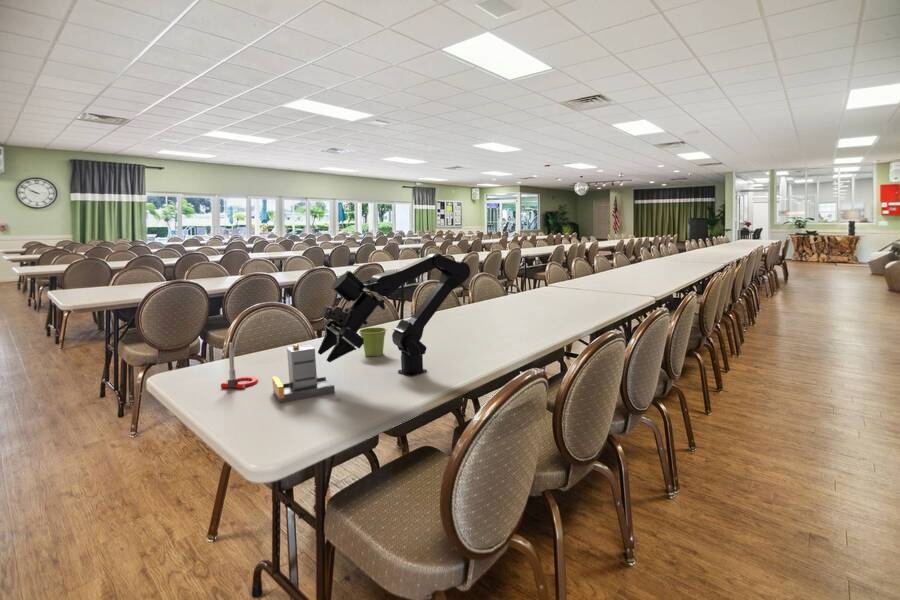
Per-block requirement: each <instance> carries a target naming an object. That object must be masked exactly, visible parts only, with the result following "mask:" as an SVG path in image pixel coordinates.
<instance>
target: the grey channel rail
mask: <svg viewBox="0 0 900 600" xmlns="http://www.w3.org/2000/svg"><path fill="white" fill-rule="evenodd" d="M271 379H272V392H273V394H274V396H275V397H276V399H277V401H278V403H279V404H283V403H287V402H293V401H298V400H303V399H309V398H313V397H319V396H324V395H329V394H335V392H336V391H335V390H336V388H335V384H330V382H329V381H328V380H327V376H325V375H324V376H319V377H318V376H317V388H312V389H306V390H301V391H296V392H293V391H292V390H291V388H290V382H289V381H288V382H284V383H282V382H281V381H280V379H279V377H278V376H273V377H272V376H271Z"/></svg>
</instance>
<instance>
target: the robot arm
mask: <svg viewBox="0 0 900 600" xmlns="http://www.w3.org/2000/svg"><path fill="white" fill-rule="evenodd" d="M434 269H436V270H438V271H439V272H441V273H440V277H439V281H438V283H437V284H436V286H435V287H434V288H433V289H432V290H431V292H430V293H429V294H428V296H427V297H426V298H425V299H424V301H423V302H422V303H421V305H420V306H419V307H418V309H417V310H416V311H415V312H414V314H413V315H412V316H411V317H410V318H409V319H407V320H405V319H403V318H401V319H400V321H398V322H399V323H398V324H397V325H396V326H395V327H394V328H393V332H392V335H391V338H392V342H393V344H394V345H396V346H397V348H398V351H400V353H401V354H400V355H401V356H400V360H401V361H400V363H401V367H400V368H401V369H399V370H397V373H399V374H403V375H405V376H408V377H414V376H417V375H421V374H424V373H427V372H428V369H425V368H424V360H423V355H425V354H426V351H427V346H426V345H425V344H423V343H422V342H421V339H422V337H423V334H424V330H425V326H427V324H428V323H429V322H430V320H431V319H432V318H433V316H434V315H435V313H436V312H437V311H438V310H439V308H441V305H442V304H443V303H444V302H445V301H446V299H447V298H448V297H449V295H450V294H451V293H452V291H454V290H455V289H457V288H459V287H460V286H462V285H463V283H465V282H466V281H467V280H468V279H469V278H470V276H471V268H470V266H469V264H468V263H467V262H464V261H456V260H454V259H451V258H448V257H446V256H444V255H443V254H440V253H433V252H432V253H429V254H428V255H427V256H425V257H422V258H420V259H418V260H415V261H414V262H411V263H409V264H406V265H405V266H402V267H400V268H398V269H396V270H392V271H386V272H381V273H378V274H377V273H376V274H374V275H372V276H371V277H370V278H369V279H367V280H363V281H361V280H360V279H359V278H358V277H356V275H354V273H353V272H352V271H351V270H347V271H346V272H344V273H343V274H341V276H339V277H338V278H336V280H334V282H333V283H332V285H331V290H332V291H333V292H335V293H336V294H337V295H338V296H339V297H341V298H342V299H343V300H345V302H347V303H349V302H353V303H352V305H351V306H350V307H345V308H344V309H343V307H341V306H338V305H335V306H334V307H331V306H329V305H325V304H324V305H323V308H322V310H321V314H320V317H323V319H325V321H324V323H323V325H325V326H323V329H324V337H323V339H322V341H321V344H320V346H319V348H318V351H317V353H318V355H323V354H324V353H326V352H328V351H329V350H330V349H331V348H332V350H331V352H330V353H329V354H328V357H327V358H326V362H328V363H331V362H333V361H335V360H338V359H339V358H341V357H343V356H345V355H347V354H349V353H351V352H353V351H356V350H357V349H359V350H360V349H361V348H362V347H363V344H364V339H363V338H362V337H361V334H359V333H358V332H359V330H361V329H362V326H363V325H364V326H366V325H367V324H368V321H367V320H368V319H369V318H370V316H371V315H372V314H373V312H374V311H375V310H376V309H377V308H378V309H381V310H383V311H384V310H385V309H386V306H385V299H382V298H381V299H380V298H378V297H377V296H380V297H388V296H390V295H392V294H393V293H395V292H396V291H397V290H399V288H400V287H402V286H403V284H405V283H406V282H409V281H411V280H413V279H416V278H418V277H420V276H421V275H424V274H425V273H427V272H430V271H432V270H434ZM366 291H369V292H371V293H367V292H366ZM376 295H377V296H376Z"/></svg>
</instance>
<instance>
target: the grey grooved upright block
mask: <svg viewBox="0 0 900 600" xmlns="http://www.w3.org/2000/svg"><path fill="white" fill-rule="evenodd" d="M286 354H287V355H286V356H287V365H288V366H287V367H288V377H289V378H288V379H289V381H288V382H290V388H291V390H292V391H293V392H296V391H301V390H306V389H312V388H317V377H318V374H317V363H316V360H317V359H316V349H315V347H314V346H312V345H311V344H310V343H309V344H304V345H300V344H297V343H295V344H292V346H289V347H286Z"/></svg>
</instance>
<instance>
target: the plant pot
mask: <svg viewBox="0 0 900 600" xmlns="http://www.w3.org/2000/svg"><path fill="white" fill-rule="evenodd" d="M387 331H388V330H387V328H386V327H377V326H375V327H365V328H360V329H359V330H358V332H359V333H358V334H359V335H360V336H361V337H362V338H363V339H364V344H363V345H362V347H363V350H364V355H365V356H366V357H372V356H373V357H378V356H379V355H380V356H382V355H383V354H384V344H385V336H386V332H387Z"/></svg>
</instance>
